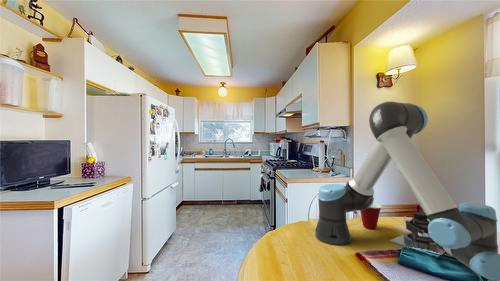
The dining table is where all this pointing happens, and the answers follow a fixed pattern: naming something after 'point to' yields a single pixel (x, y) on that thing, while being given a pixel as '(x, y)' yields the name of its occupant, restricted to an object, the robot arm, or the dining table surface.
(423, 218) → the pill bottle
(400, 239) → the duct plate
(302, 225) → the dining table surface
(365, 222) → the plastic cup
